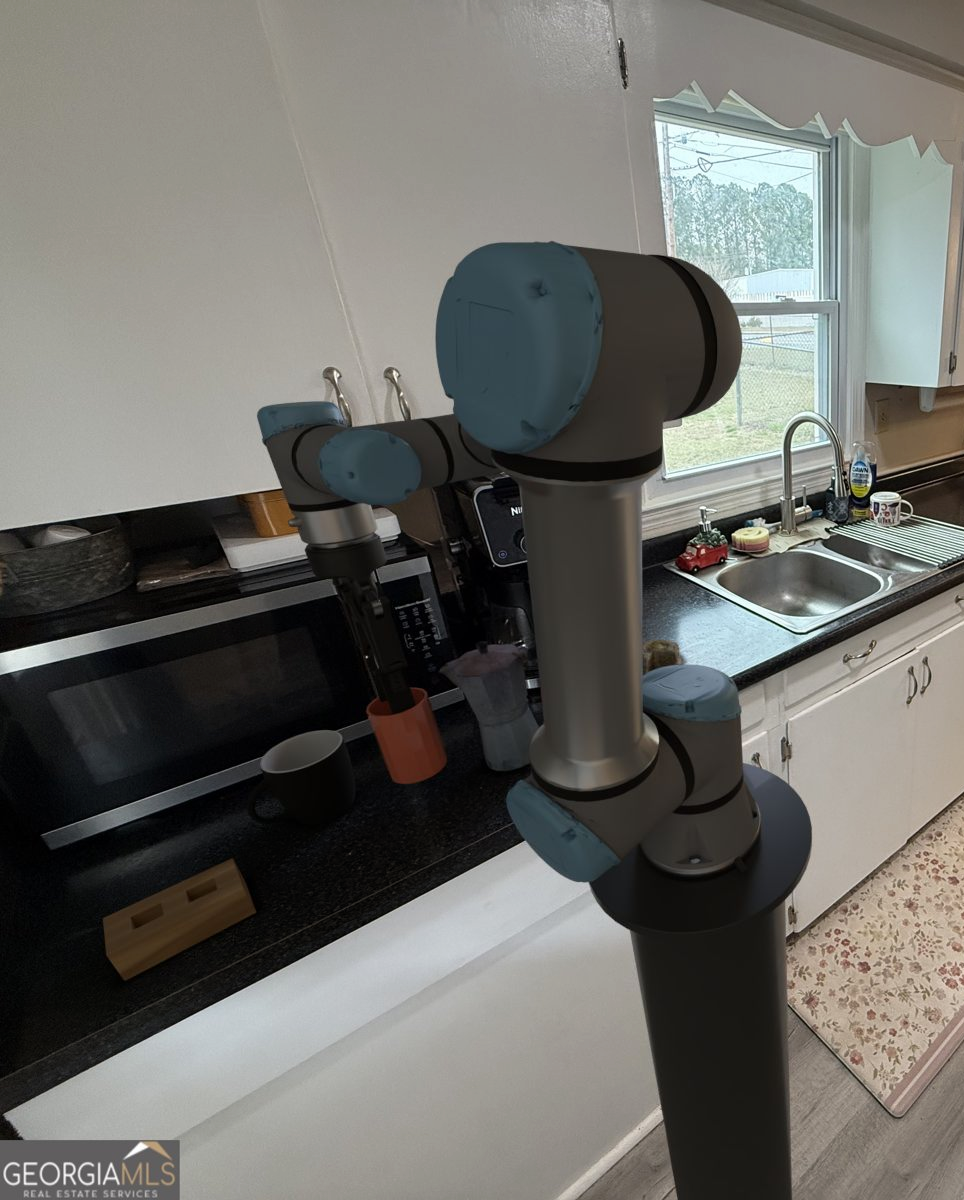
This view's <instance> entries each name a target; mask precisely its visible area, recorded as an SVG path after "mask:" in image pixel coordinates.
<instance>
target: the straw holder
mask: <svg viewBox="0 0 964 1200" xmlns="http://www.w3.org/2000/svg"><path fill="white" fill-rule="evenodd" d="M256 913H257V910H256V907H255V904H254V902H253V899H252V896H251V893H250V891H249V888H248V885H247V882H246V880H245V879H244V876H243V875H242V873H241V871H240V869H239V867H238V865H237V863H236V861H235V859H234V858H232V857H231V858H229V859H228V860H225V861H223V862H221V863H219V864H217V865H215V866H212V867H210V868H208V869H205V870H204V871H202V872H200V873H198V874H196V875H193V876H191V877H189V878H187V879H184V880H182V881H180V882H178V883H176V884H174V885H172V886H170V887H167V888H166V889H163V890H161V891H159V892H157V893H153V894H152V895H150V896H148V897H146V898H144V899H142V900H140V901H137V902H135V903H133V904H130V905H128V906H126V907H124V908H122V909H120V910H118V911H115V912H114V913H111V914H109V915H107V916H105V917H103V918H102V924H103V933H104V944H105V954H106V957H107V959H108V960H109V961H110V963H111V965H112V966H113V967H114V968H115V969H116V972H118V974H119V975H120V978H122V980H123V981H124V982H125V981H128V980H130V979H132V978H134V977H135V976H137V975H139V974H141V973H143V972H145V971H147V970H149V969H151V968H153V967H155V966H157V965H159V964H161V963H162V962H164V961H166V960H168V959H170V958H172V957H174V956H176V955H177V954H180V953H182V952H183V951H186V950H187V949H189V948H191V947H193V946H195V945H197V944H199V943H201V942H202V941H204V940H207V939H209V938H210V937H213V936H215V935H216V934H218V933H220V932H222V931H223V930H225V929H228V928H230V927H231V926H233V925H235V924H238V923H240V922H241V921H243V920H244V919H247V918H248V917H250V916H252V915H255V914H256Z"/></svg>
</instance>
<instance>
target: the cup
mask: <svg viewBox="0 0 964 1200" xmlns="http://www.w3.org/2000/svg"><path fill="white" fill-rule="evenodd" d="M410 688H411V691H412V695H413V698H414V701H415V704H416V706H414V707H413V708H411V709H409V710H406V711H404V712H401V713H397V714H393V715H392V712H391V709H390V706H389V704H388V701H384V702H381V701H380V700H379V697H378V696H377V698H375V699H373V700H372V701H371V702H370V703H369V704H368V705H367V706H366V710H365V713H366V716H367V718H368V721H369V723H370V726H371V729H372V732H373V735H374V738H375V741H376V743H377V745H378V748H379V751H380V753H381V756H382V759H383V762H384V764H385V766H386V769H387V772H388V775H389V777H390V779H391V781H393V782H394V783H396V784H400V785H410V784H417V783H419V782H422V781H425V780H427V779H430V778H431V777H433V776H435V775H437V774H438V773H439V772H441V771H442V770H443V769H444V768H445V766H446V764H447V762H448V757H447V752H446V749H445V745H444V742H443V739H442V738H443V737H442V735H441V733H440V729H439V727H438V723H437V720H436V717H435V713H434V710H433V706H432V703H431V701H430V697H429V695H428V692H427V691H426V690H425V689H424V688H420V687H410Z"/></svg>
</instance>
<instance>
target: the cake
mask: <svg viewBox="0 0 964 1200" xmlns="http://www.w3.org/2000/svg"><path fill="white" fill-rule="evenodd" d="M642 650H643V675H644V674H646V673H648V672H650V671H652V670H655V669H658V668H661V667H666V666H671V665H684V658H683V656H682V655H680V647H679V644H678V643H677V642H676V641H672V640H669V639H655V640H648V641H645V642H642Z"/></svg>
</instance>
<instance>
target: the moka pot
mask: <svg viewBox="0 0 964 1200" xmlns="http://www.w3.org/2000/svg"><path fill="white" fill-rule="evenodd" d="M475 647H476V649H473V650H471V651H470V650H469V651H467V652H465V653H464V654H462V655H461V656H460V657H459V658H457V659H453V660H451V661H448V662H447V663H445V665H443V666H442V667H440V669H439V671H438V673H439V674H442V675H445V677H446V678H447V679H448V680H450V681H451V682H452V683H453V684H454V685H455V686H456V687H457V689H459V690H460V691H461V692H462V693H463V695H464V696H465V698H466V700H467V702H468V704H469V706H470V708H471V710H472V712H473V713H474V714H475V718H476V719H477V721H478V726H479V727H478V728H479V731H480V738H481V743H482V749H483V755H484V759H485V762H486V765H487V766H488V768H489V769H491V770H494V771H498V772H510V771H513V770H518V769H521V768H523V767H526V766H528V765H530V759H529V748H530V743H531V741H532V738H533V736H534V735H535V733H536V731H537V730H538V729H539V728H540V726H539V725H538V723H537V720H536V719H535V717H534V715H533V712H532V711H531V709H530V707H529V699H528V698H527V697H528V688H527V682H526V681H527V680H526V674H525V667H524V663H528V662H532V661H534V660H535V659H537V650H536V645H534V646H531V647H529V648H528V647H524V648H517V646H516V645H515V644H488V641H487V640H483V641H478V642H477V643H475ZM531 700H532V703H534V704H539V703H542V697H541V695H539V696H534V697H533V698H532V699H531Z"/></svg>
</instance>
